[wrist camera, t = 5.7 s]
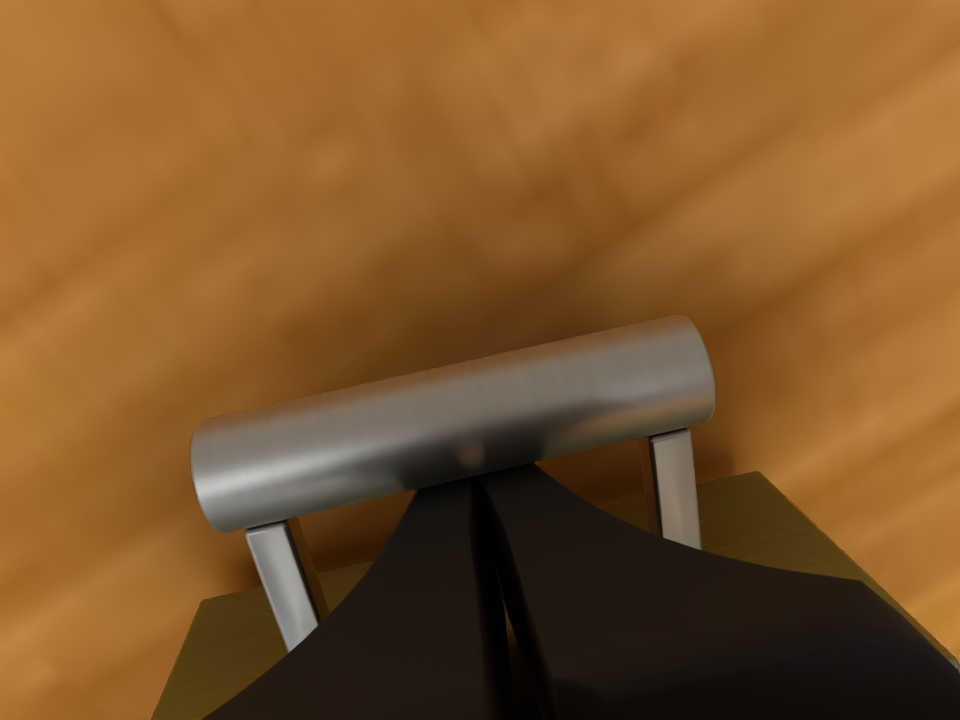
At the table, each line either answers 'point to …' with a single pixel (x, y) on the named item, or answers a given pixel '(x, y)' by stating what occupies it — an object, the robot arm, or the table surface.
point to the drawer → (461, 454)
